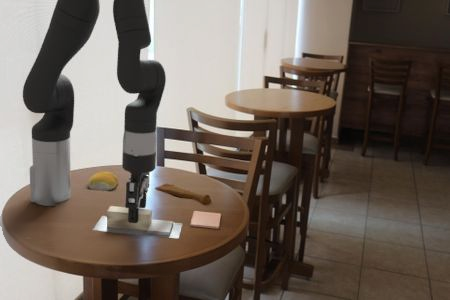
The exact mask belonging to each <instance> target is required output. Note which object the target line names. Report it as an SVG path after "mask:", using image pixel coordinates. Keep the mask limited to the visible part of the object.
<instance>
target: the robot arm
mask: <svg viewBox="0 0 450 300" xmlns="http://www.w3.org/2000/svg"><path fill="white" fill-rule="evenodd" d="M145 5H146V4H145V0H113V3H112V16H113V20H114V21H113V22H114V28H115V31H116V37H117V42H118V45H117V62H116V63H117V64H116V76H117V81H118V83H119V85H120V87H121V88H122V90H123V91H124V92H126V93H127V94H138V95H137V97H136V99H135V100H134V101H132V102H130V103H128V104H127V105H126V106H125V108H124V127H123V128H124V129H123V137H122V161H121V163H122V165H121V166H122V170H124V171H125V172H128V173H130V177H128V179H127V181H126V183H125V186H126V187H125V188H126V189H125V203H124V204H125V206H124V207H126V208H129V209H128V222H130V223H137V222H138V219H139V209H146V207H147V193H148V191H149V188H150V173H152V172H153V171H155V169H156V163H157V161H156V160H157V145H158V144H157V143H158V141H157V120H158V119H157V117H158V116H157V114H158V110H159V108H160V104H161V101H162V97H163V94H164V91H165V87H166V81H167V78H166V71H165V68H164V67H163V65H162V63H160V61H158V60H155V59H141V51H142V50H143V49H144V50H145V49H146V48H148V47H150V45H151V43H152V35H151V30H150V26H149V20H148V15H147V9H146V6H145ZM100 9H101V3H100V0H57V1H56V3H55V7H54V10H53V11H52V16H51V19H50V23H49V26H48V29H47V31H46V33H45V36H44V38H43V41H42V44H41V46H40V49H39V52H38V54H37V57H36V58H35V61H34V62H33V65H32V67H31V68H30V71H29V73H28V75H27V77H26V79H25V82H24V85H23V88H22V101H23V104H24V105H25V107H26V109H27V110H29V112H31V113H34V114H43V115H42V117H41V119H40V120H39V121H37V122H36V123H35V124H34V125H32V127H31V150H32V153H31V154H32V165H31V166H29V187H30V189H29V190H30V193H29V194H30V195H29V196H30V202H31V203H35V204H37V205H39V206H45V207H54V206H57V205H58V204H59V203H62V202H65V201H67V200H69V199H70V198H71V193H72V192H71V191H72V190H71V188H72V187H71V185H72V183H71V182H72V181H71V180H72V179H71V178H72V177H71V131H72V129H73V126H74V116H75V115H74V114H75V90H74V86H73V83H72V82H71V79H69V77H67V76H66V75H64V74H62V72H63V70H64V69H65V67H66V66H67V64H68V63H69V62H70V61H71V60H72V59H73V58H74V57H75V56H76V55H77V54H78V53H79V52H80V51H81V49H82V48H83V47H84V46H85V45H86V43H87V42H88V41H89V40H90V38H91V35H92V33H93V32H94V31H93V30H94V29H95V26H96V24H97V21H98V18H99V15H100ZM132 199H133V200H134V201H133V202H132Z"/></svg>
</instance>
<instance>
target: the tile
mask: <svg viewBox="0 0 450 300" xmlns="http://www.w3.org/2000/svg"><path fill="white" fill-rule="evenodd" d="M221 217H222V213H218V212H207V211H199V210H193V213H192V218H191V220H190V225H189V226H190V227H197V228H205V229H214V230H215V229H217V230H218V229H220V224H221Z"/></svg>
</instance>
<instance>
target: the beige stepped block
mask: <svg viewBox="0 0 450 300" xmlns="http://www.w3.org/2000/svg"><path fill="white" fill-rule="evenodd" d="M128 209H129V208H126V207H125V206H124V207H123V206H115V205H110V206H109V207H108V209H107V210H106V216H107V227H116V228H126V229H137V230H147V233H148V234H159V235H170V232H171V229H172V226H173V223H174V221H173V220H163V219H153V209H149V208H148V209H147V208H139V219H138V222H137V223H130V222H128Z"/></svg>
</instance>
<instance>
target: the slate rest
mask: <svg viewBox="0 0 450 300" xmlns="http://www.w3.org/2000/svg"><path fill="white" fill-rule="evenodd" d="M183 224H184V223H181V222H173V226H172V229H171V232H170V235H159V234H148V233H147V230H137V229H126V228H116V227H107V215H102V216H101V217H100V219H98V221H97V223H96V224H95V225H94V227H93V228H92V231H96V232H106V233H115V234H127V235H137V236H148V237H158V238H167V239H168V238H170V239H177V240H178V239H179V238H180V235H181V232H182V229H183Z"/></svg>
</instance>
